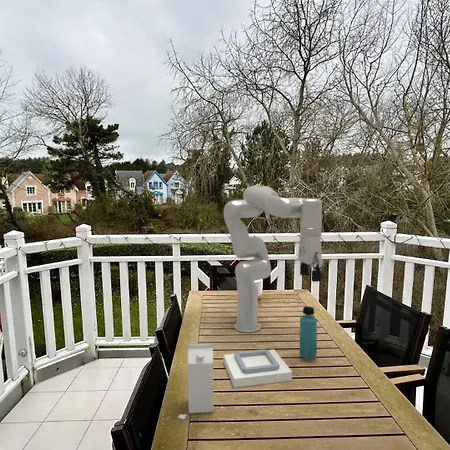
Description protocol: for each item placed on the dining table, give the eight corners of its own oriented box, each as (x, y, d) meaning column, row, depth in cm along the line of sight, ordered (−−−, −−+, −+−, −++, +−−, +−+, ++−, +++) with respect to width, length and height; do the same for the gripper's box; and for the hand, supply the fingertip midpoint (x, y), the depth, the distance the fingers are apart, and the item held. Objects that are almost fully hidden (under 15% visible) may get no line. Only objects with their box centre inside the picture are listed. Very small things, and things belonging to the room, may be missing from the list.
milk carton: (189, 399, 106) (188, 339, 105) (212, 398, 107) (212, 338, 105) (188, 414, 99) (187, 350, 97) (213, 412, 100) (213, 349, 98)
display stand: (223, 362, 129) (223, 350, 129) (274, 357, 133) (274, 345, 133) (234, 387, 112) (234, 374, 112) (292, 380, 117) (292, 367, 116)
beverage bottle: (317, 363, 128) (318, 311, 126) (298, 361, 129) (299, 309, 128) (316, 355, 135) (317, 305, 133) (298, 353, 136) (299, 304, 134)
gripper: (291, 230, 135) (291, 273, 136) (312, 235, 118) (311, 284, 120) (309, 229, 136) (308, 272, 138) (332, 234, 120) (331, 283, 121)
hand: (309, 278), depth 129 cm, fingers open, 9 cm apart
